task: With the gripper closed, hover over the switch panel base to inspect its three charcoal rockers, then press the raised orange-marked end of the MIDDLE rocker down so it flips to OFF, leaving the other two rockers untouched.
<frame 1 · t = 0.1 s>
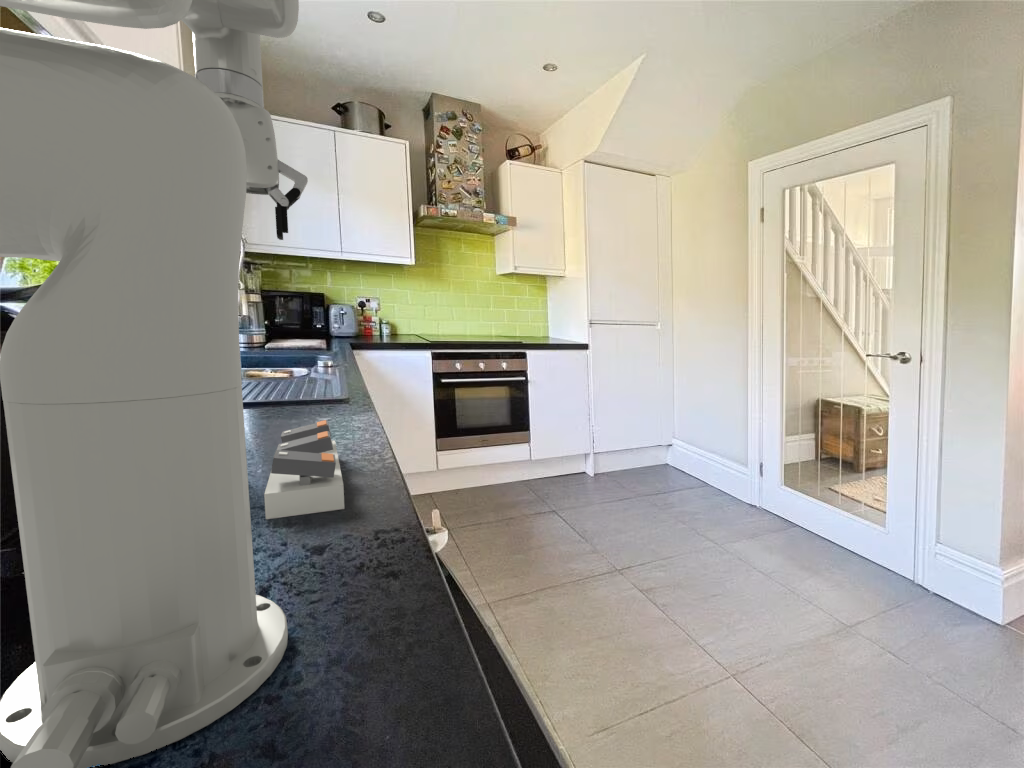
hand: (240, 235, 65), 31 cm above the countertop, fingers open, 9 cm apart
switch panel base: (307, 482, 60), on the countertop
rocker 3: (306, 433, 67), point 5 cm above the countertop, hinge at -11.0°
rocker 2: (305, 446, 59), point 5 cm above the countertop, hinge at -11.0°
rocker 1: (304, 462, 52), point 5 cm above the countertop, hinge at 11.0°
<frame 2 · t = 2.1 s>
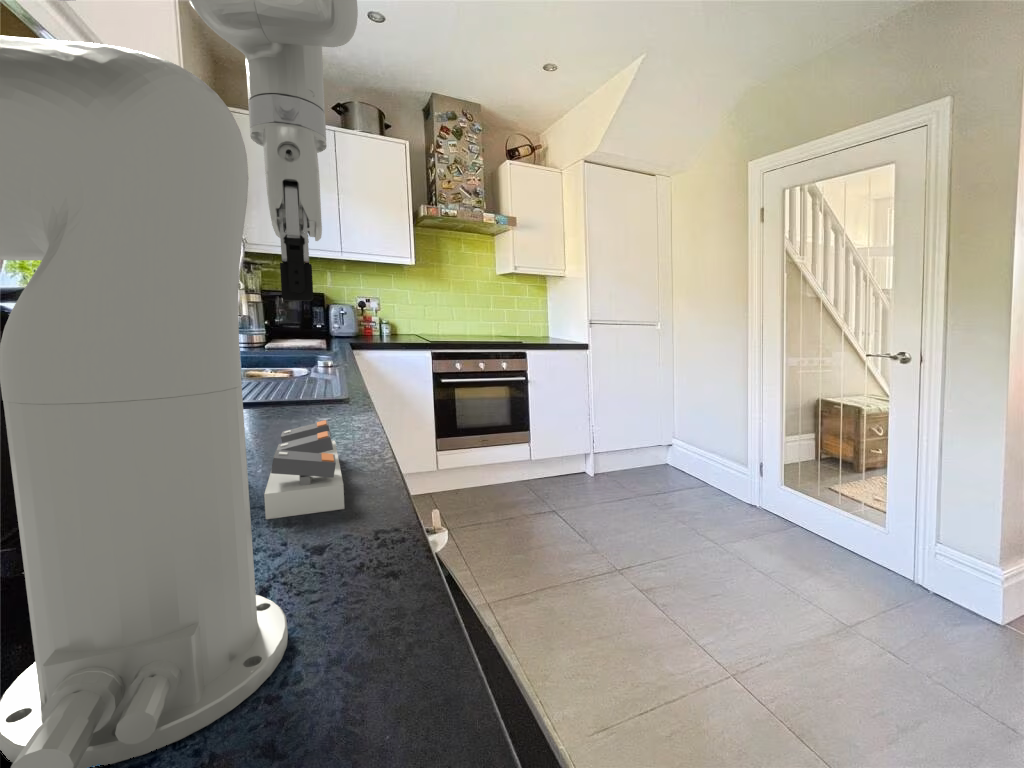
hand: (298, 300, 55), 22 cm above the countertop, fingers closed
nothing on the countertop moved.
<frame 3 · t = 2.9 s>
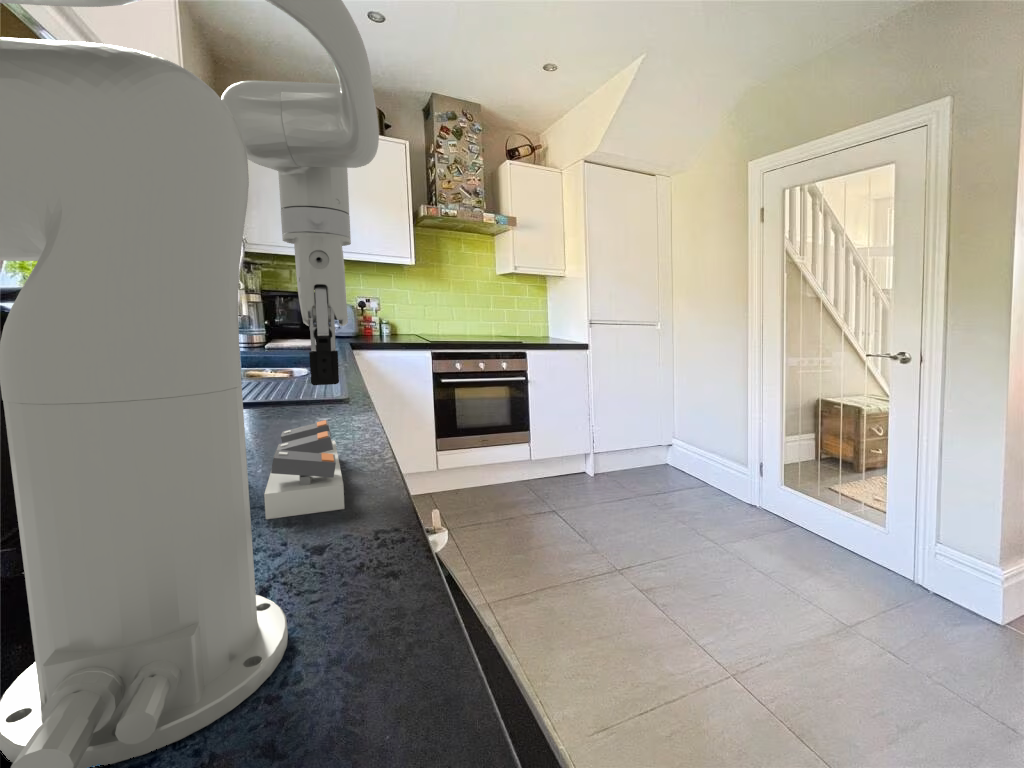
hand: (325, 383, 60), 12 cm above the countertop, fingers closed
nothing on the countertop moved.
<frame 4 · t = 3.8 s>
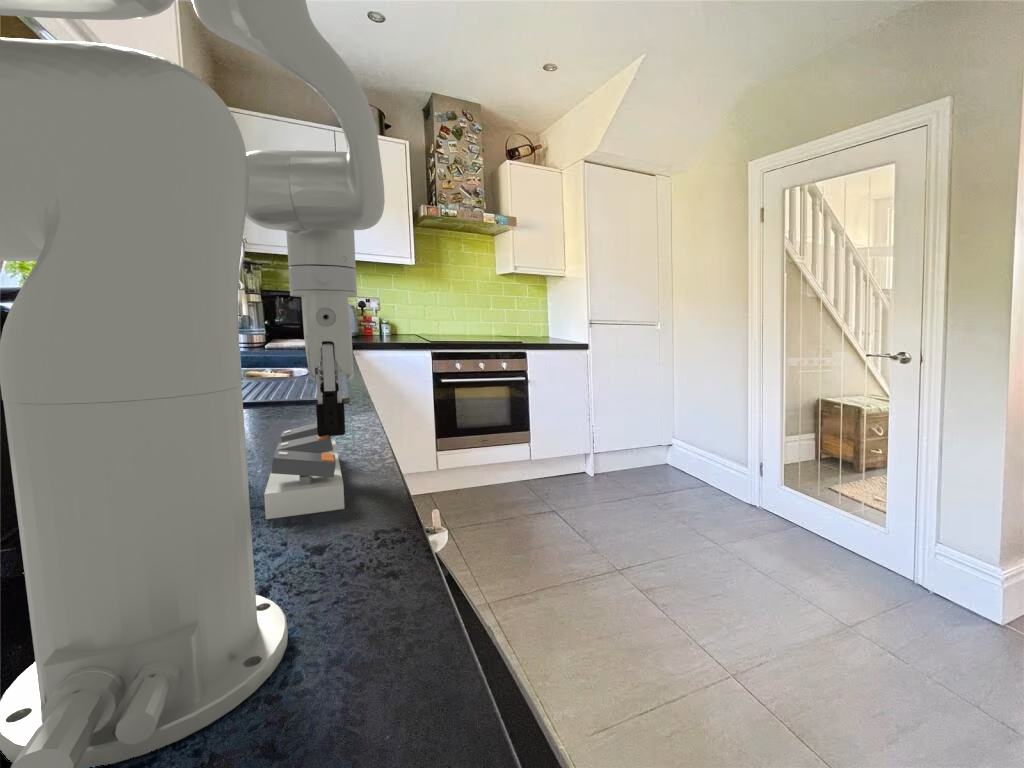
hand: (331, 433, 61), 6 cm above the countertop, fingers closed
rocker 2: (305, 446, 59), point 5 cm above the countertop, hinge at -8.7°, touching gripper
everything else where it was.
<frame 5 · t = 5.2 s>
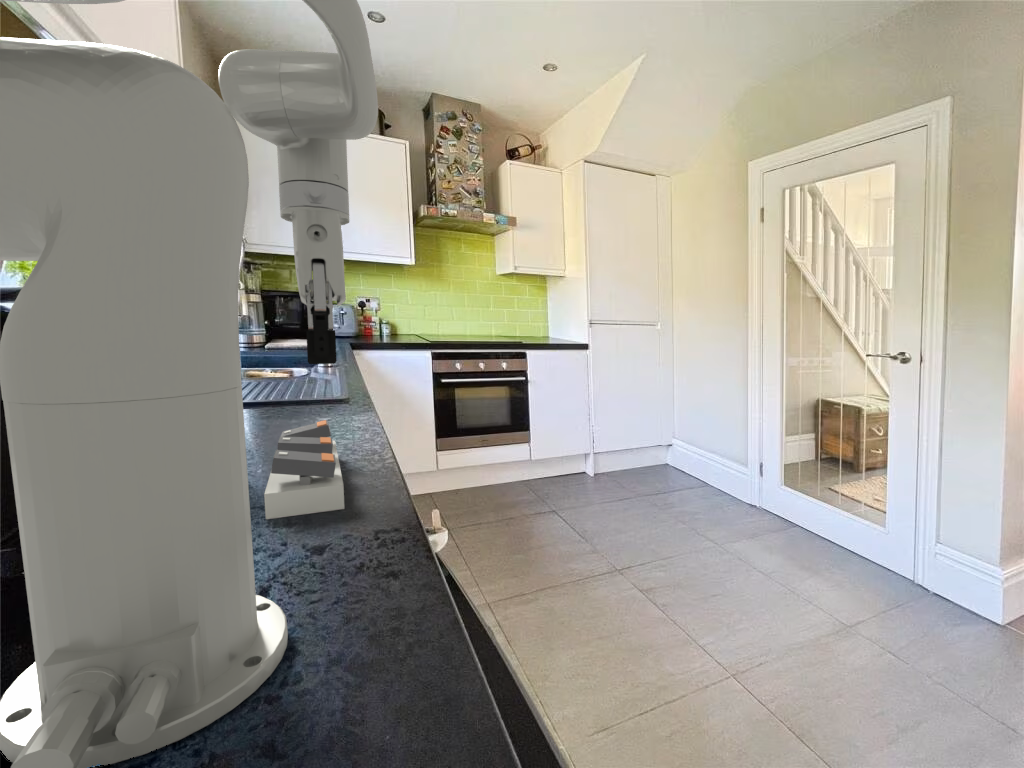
hand: (322, 363, 59), 15 cm above the countertop, fingers closed
rocker 2: (305, 446, 59), point 5 cm above the countertop, hinge at 7.1°
everything else where it was.
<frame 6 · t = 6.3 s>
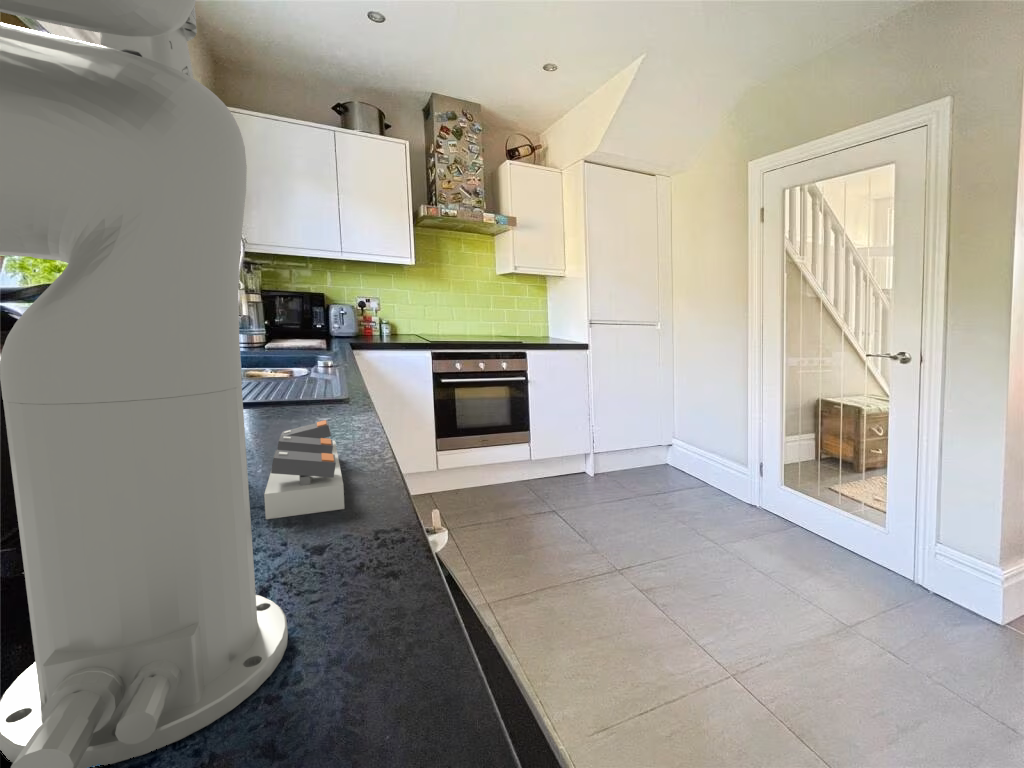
hand: (162, 217, 44), 29 cm above the countertop, fingers closed
rocker 2: (305, 446, 59), point 5 cm above the countertop, hinge at 10.7°
everything else where it was.
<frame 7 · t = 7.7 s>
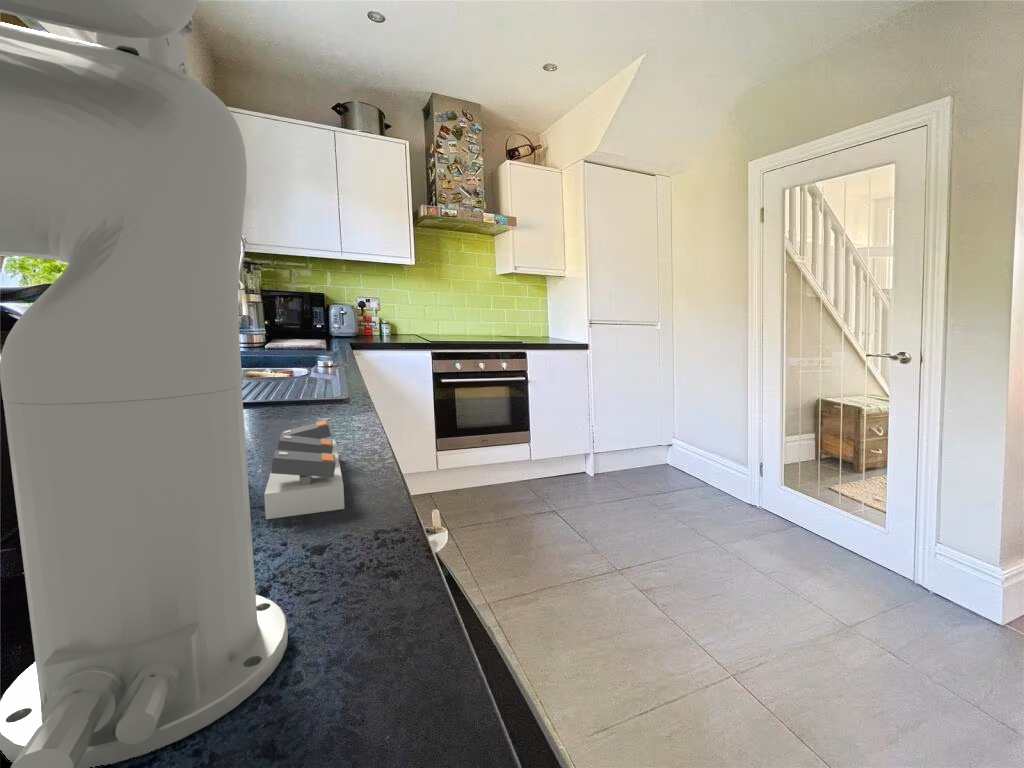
hand: (158, 214, 44), 29 cm above the countertop, fingers closed
rocker 2: (305, 446, 59), point 5 cm above the countertop, hinge at 12.7°
everything else where it was.
at the end: rocker 2 at +13° (first picture: -11°); rocker 3 at -11° (first picture: -11°); rocker 1 at +11° (first picture: +11°) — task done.
